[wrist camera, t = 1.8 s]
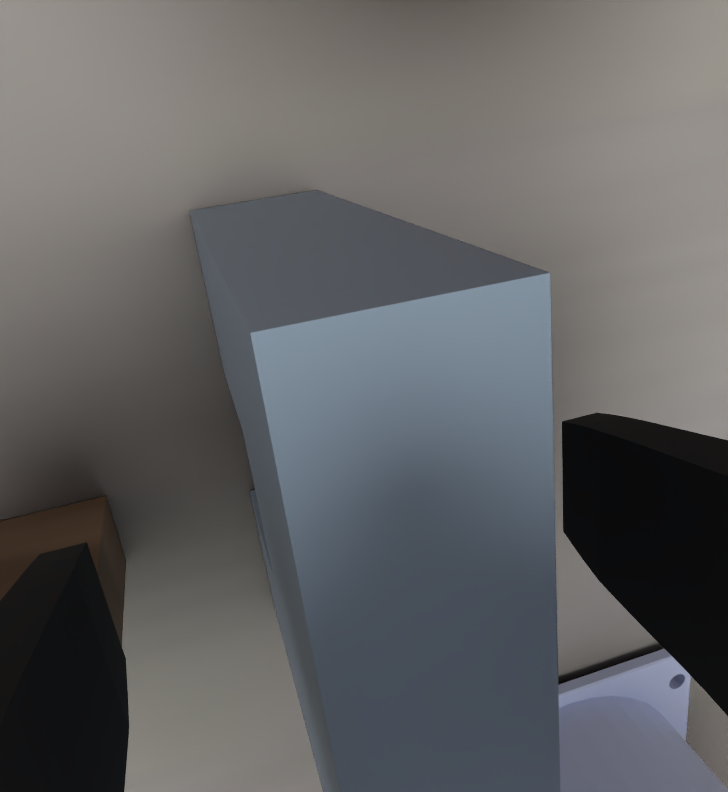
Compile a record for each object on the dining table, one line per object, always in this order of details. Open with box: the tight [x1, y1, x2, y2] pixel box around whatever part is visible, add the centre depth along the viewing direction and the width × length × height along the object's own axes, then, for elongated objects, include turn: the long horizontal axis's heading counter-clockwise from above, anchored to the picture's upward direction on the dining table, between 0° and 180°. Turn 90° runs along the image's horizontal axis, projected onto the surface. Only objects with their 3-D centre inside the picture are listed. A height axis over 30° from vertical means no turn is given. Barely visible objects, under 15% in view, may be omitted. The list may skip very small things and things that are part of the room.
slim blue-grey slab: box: [189, 190, 561, 792], centre depth 11 cm, size 9×2×8 cm, turn 7°
